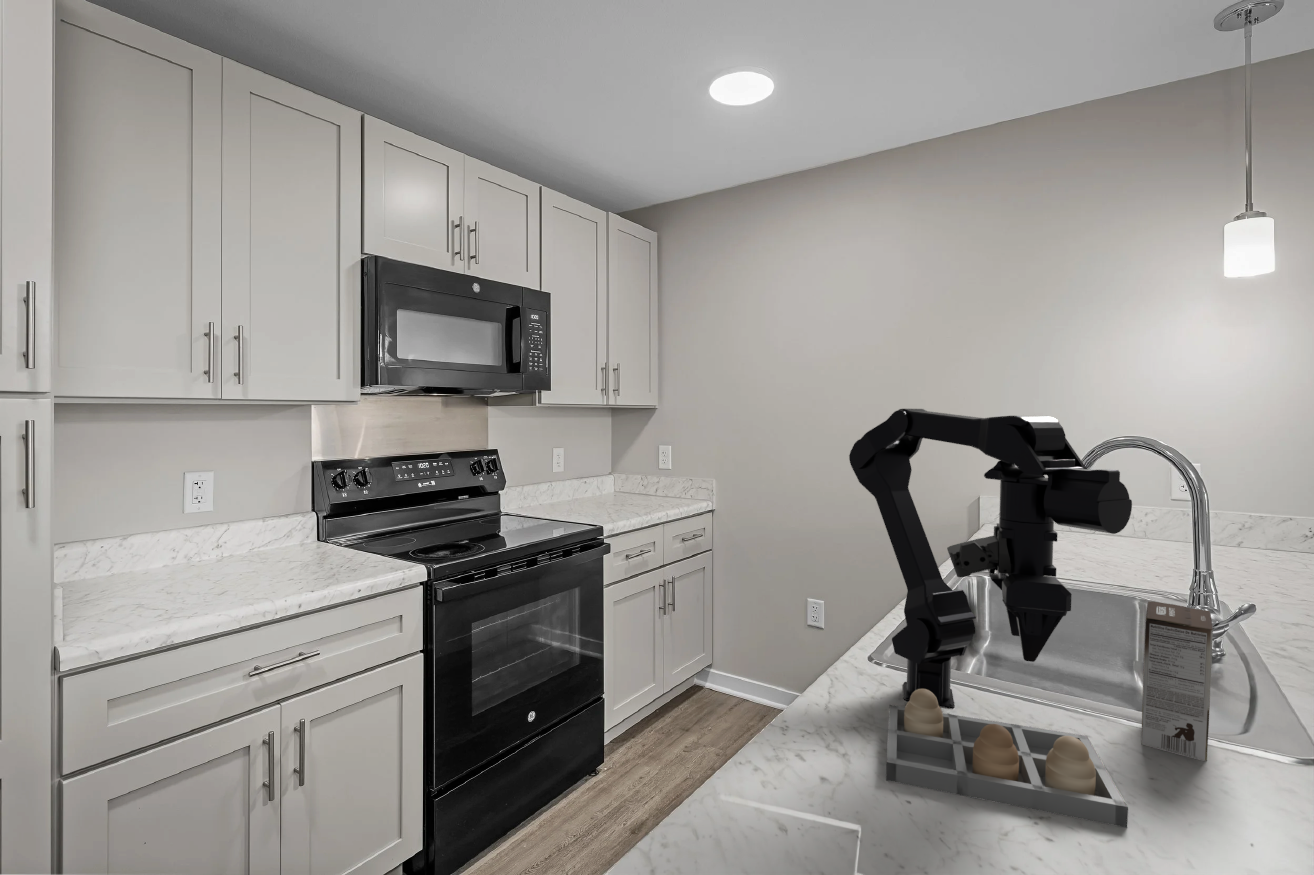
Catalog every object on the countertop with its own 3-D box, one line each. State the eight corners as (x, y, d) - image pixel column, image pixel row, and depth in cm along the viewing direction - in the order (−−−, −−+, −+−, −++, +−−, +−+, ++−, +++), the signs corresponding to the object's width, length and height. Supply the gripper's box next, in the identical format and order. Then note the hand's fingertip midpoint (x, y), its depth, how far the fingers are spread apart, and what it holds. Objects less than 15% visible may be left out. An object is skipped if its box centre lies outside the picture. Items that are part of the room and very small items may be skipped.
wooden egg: (970, 767, 73) (972, 713, 73) (1014, 775, 72) (1016, 720, 72) (974, 787, 69) (976, 730, 69) (1021, 797, 68) (1023, 738, 67)
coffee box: (1143, 720, 86) (1147, 599, 85) (1206, 736, 82) (1211, 609, 81) (1138, 747, 79) (1143, 616, 78) (1208, 765, 75) (1213, 627, 74)
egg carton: (889, 722, 85) (889, 704, 85) (1086, 755, 77) (1087, 735, 77) (886, 783, 71) (886, 761, 71) (1127, 831, 63) (1128, 806, 63)
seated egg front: (1041, 780, 71) (1042, 724, 71) (1088, 788, 69) (1090, 731, 69) (1049, 802, 67) (1051, 743, 66) (1100, 812, 65) (1102, 751, 65)
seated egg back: (903, 728, 82) (904, 680, 82) (941, 734, 81) (942, 685, 81) (903, 744, 78) (905, 694, 78) (943, 751, 77) (945, 700, 76)
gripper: (948, 505, 90) (945, 617, 90) (958, 527, 72) (955, 665, 73) (1040, 510, 86) (1036, 627, 86) (1074, 534, 68) (1070, 680, 69)
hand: (1022, 647), depth 79 cm, fingers open, 9 cm apart
